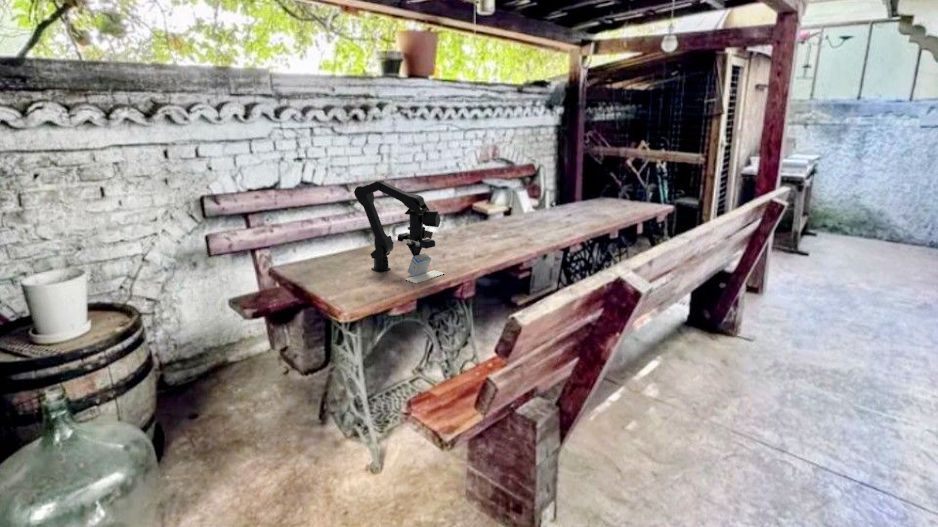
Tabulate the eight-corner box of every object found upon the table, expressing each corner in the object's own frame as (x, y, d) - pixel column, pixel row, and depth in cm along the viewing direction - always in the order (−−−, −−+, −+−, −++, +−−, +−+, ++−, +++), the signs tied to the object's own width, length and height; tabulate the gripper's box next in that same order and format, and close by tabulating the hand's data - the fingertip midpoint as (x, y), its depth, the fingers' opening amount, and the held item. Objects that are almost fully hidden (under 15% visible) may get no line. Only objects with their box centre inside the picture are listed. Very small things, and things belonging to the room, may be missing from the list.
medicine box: (419, 267, 232) (425, 252, 228) (425, 273, 230) (431, 258, 226) (406, 271, 226) (412, 256, 222) (413, 277, 224) (419, 261, 220)
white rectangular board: (404, 280, 221) (404, 279, 220) (434, 271, 234) (434, 270, 233) (415, 283, 217) (415, 282, 216) (444, 274, 229) (444, 273, 229)
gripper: (444, 225, 222) (444, 260, 227) (415, 218, 233) (415, 251, 238) (426, 229, 214) (425, 265, 218) (396, 222, 225) (397, 256, 230)
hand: (416, 259), depth 227 cm, fingers closed
